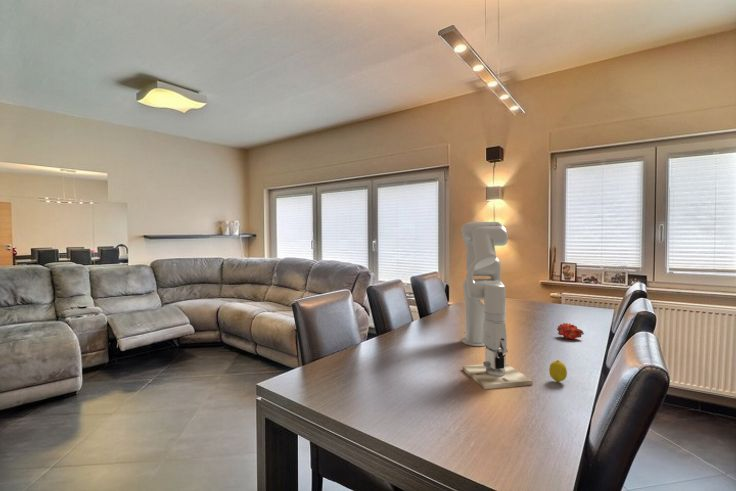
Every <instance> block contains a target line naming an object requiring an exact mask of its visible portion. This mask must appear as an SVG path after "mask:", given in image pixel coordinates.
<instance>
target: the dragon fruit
mask: <svg viewBox="0 0 736 491" xmlns="http://www.w3.org/2000/svg"><path fill="white" fill-rule="evenodd" d="M556 330H557V332H558V333H557V335H559V336H562V337H563V339H565V340H567V339H569V340H573V341H579V339H578V338H582V336H583V335H585V332H584V331H583V330H582V329H580V328H578V327H577V326H576V325H575V324H574V323H573V324H571V323H568V322H562V323H560V325H558V326H557V328H556Z"/></svg>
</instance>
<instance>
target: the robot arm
mask: <svg viewBox="0 0 736 491" xmlns="http://www.w3.org/2000/svg"><path fill="white" fill-rule="evenodd" d="M461 235H462V240H463V242H464V244H465V248H466V249H465V250H466V252H465V253H466V255H465V258H466V260H465V262H466V263H465V265H466V276H465V280H464V282H463V284H462V289H463V296H464V319H465V321H464V322H465V323H464V324H465V327H464V328H465V329H464V330H465V331H464V334H465V336H464V338H462V339H461V342H462V344H464V345H466V346H467V345H468V346H469V347H470V346H473V347H485V348H491V349H493V350H495V352H496V357H497V358H495V368H496V369H502V368H504V358H505V355H506V356H507V354H508V353H509V351H508V349H507V347H508V339H507V336H508V334H507V327H506V326H507V325H506V315H507V314H506V310H507V309H506V306H507V305H506V297H507V296H506V294H507V293H506V292H507V291H506V289H507V288H506V286H505V284H504V283H503V282H502V265H501V260H500V259H499V257H497V254H496V246H497V247H498V246H499V247H500V246H501V247H502V246H505V245H507V243H508V241H509V236H508V231H507V229H506V227H505V226H504V225H503V224H502V223H500V222H499V221H473V222H471V221H470V222H465V223H464V224H462V226H461ZM475 277H478V278H475ZM479 277H480V278H479ZM481 277H489V278H481ZM482 301H483V302H482ZM499 348H501V349H499ZM498 351H501V352H500V353H499V352H498Z"/></svg>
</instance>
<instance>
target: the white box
mask: <svg viewBox="0 0 736 491" xmlns="http://www.w3.org/2000/svg"><path fill="white" fill-rule="evenodd" d="M499 349H501V348H500V347H499ZM498 352H499V353H500V352H501V351H498ZM495 358H497V357H496V352H495V350H493V349H491V348H486V347H484V361H483V363H482V364H483V366H485V367H489V366H490V367H492V368H493V369H495ZM506 364H507V354H506V355H505V358H504V367H506Z"/></svg>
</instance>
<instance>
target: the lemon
mask: <svg viewBox="0 0 736 491" xmlns="http://www.w3.org/2000/svg"><path fill="white" fill-rule="evenodd" d="M548 372H549V376H550V377H551V379H553V380H554V381H556V383H558V384H559V383H560V382H563V381H564V380H566V378H567V375H568V370H567V367H566V365H565V364H564V363H563V362H562V361H561V360H558V359H556V360H554V361H552V362H551V363H550V365H549V368H548Z"/></svg>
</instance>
